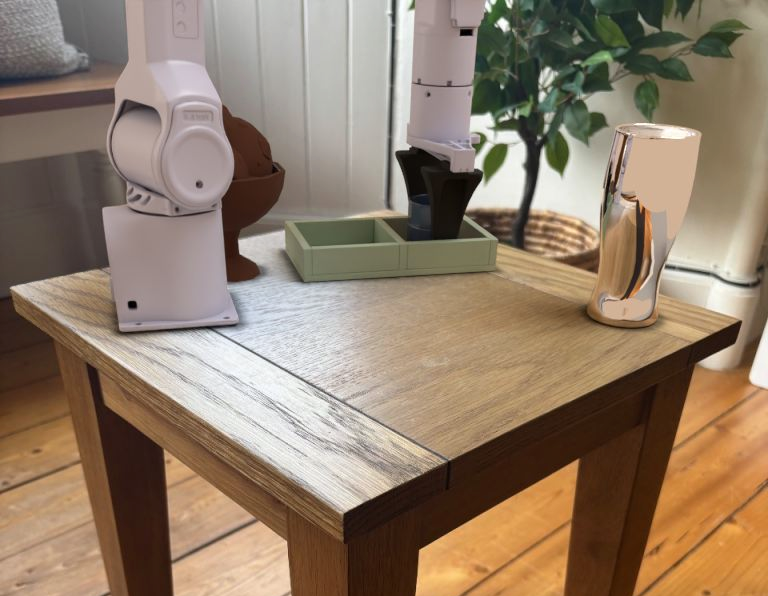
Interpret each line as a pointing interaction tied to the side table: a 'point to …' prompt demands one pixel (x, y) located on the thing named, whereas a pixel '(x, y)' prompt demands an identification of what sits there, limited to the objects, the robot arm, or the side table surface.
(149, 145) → the robot arm
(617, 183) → the beer glass
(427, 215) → the handleless cup
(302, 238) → the tray
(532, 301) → the side table surface
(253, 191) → the ice cream bowl
